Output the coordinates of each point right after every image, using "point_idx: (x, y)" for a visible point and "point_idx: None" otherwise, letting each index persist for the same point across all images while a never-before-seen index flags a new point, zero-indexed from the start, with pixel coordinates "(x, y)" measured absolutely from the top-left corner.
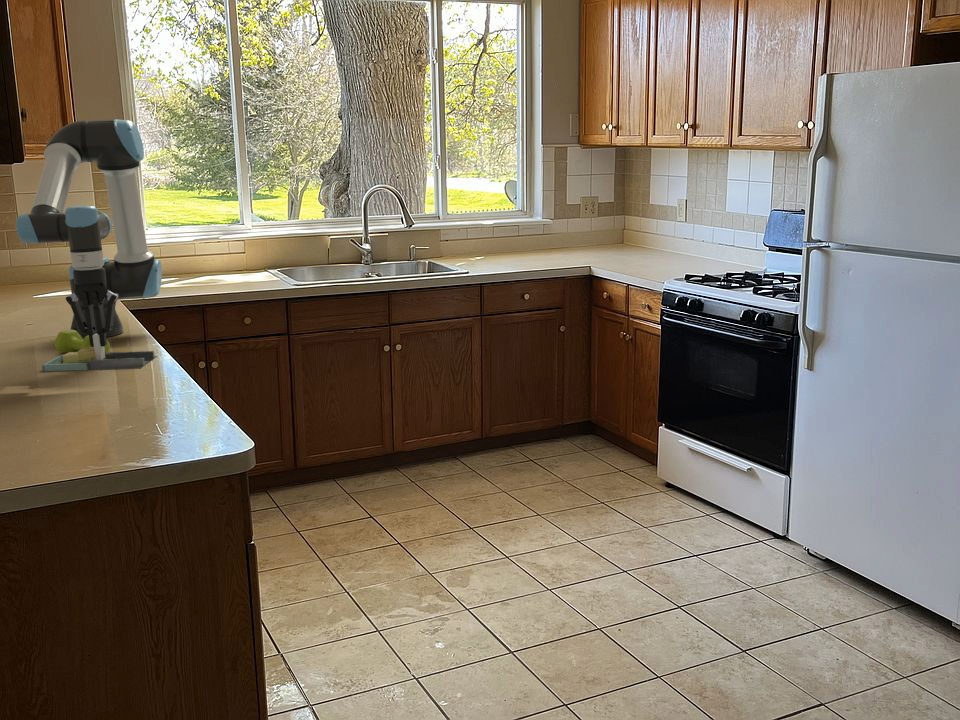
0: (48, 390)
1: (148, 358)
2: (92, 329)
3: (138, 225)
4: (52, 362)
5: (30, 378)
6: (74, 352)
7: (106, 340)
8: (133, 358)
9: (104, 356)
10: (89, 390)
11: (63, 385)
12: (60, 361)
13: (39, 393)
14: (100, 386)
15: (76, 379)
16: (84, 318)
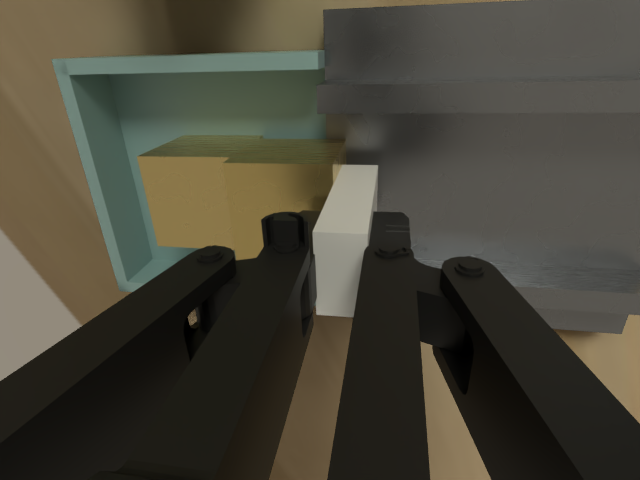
0: (286, 441)
1: None
2: (307, 335)
3: None
4: (112, 205)
5: (113, 277)
6: (180, 175)
7: (409, 232)
8: (599, 300)
9: (377, 180)
10: (431, 474)
11: (307, 399)
12: (97, 103)
13: (275, 462)
14: (456, 442)
15: (316, 332)
16: (152, 335)
